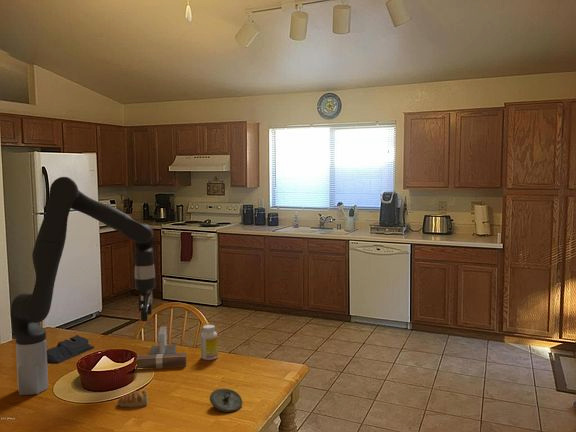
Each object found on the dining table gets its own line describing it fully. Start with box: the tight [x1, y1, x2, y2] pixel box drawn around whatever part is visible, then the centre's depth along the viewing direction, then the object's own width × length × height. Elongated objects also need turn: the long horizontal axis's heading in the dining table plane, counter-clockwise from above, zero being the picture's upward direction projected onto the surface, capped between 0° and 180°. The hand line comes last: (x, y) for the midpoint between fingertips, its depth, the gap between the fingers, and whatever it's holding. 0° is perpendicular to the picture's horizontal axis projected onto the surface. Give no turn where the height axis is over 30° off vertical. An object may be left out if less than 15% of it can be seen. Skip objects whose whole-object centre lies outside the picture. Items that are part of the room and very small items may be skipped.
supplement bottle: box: [200, 324, 219, 361], centre depth 197 cm, size 7×7×13 cm
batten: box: [136, 352, 187, 369], centre depth 188 cm, size 4×20×4 cm, turn 99°
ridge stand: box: [148, 326, 177, 355], centre depth 201 cm, size 10×10×10 cm
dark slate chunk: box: [47, 334, 95, 364], centre depth 203 cm, size 15×22×5 cm
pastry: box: [117, 389, 149, 408], centre depth 157 cm, size 9×7×4 cm
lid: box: [209, 388, 243, 413], centre depth 155 cm, size 11×10×5 cm
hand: (146, 317), depth 188 cm, fingers open, 8 cm apart
